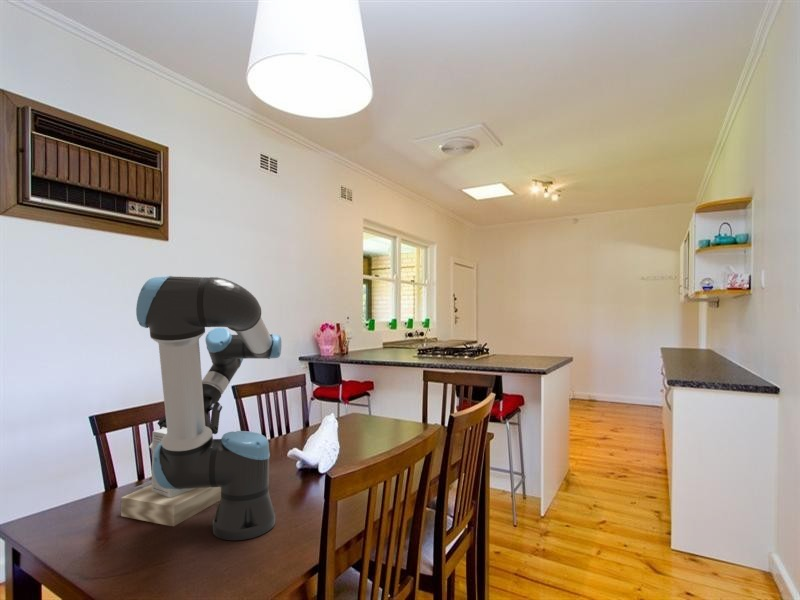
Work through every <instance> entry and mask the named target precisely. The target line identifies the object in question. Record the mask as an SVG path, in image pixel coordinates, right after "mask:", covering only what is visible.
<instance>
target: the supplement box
mask: <svg viewBox="0 0 800 600" xmlns="http://www.w3.org/2000/svg"><path fill="white" fill-rule="evenodd" d="M166 434H167V428H164V429H160V428H159V429H156V430H153V431H152V441H151V443H152V449H151V458H152V459H151V460H152V461H151V480H152V491H153V492H156V493H158V494H161V495H164V496H167V497H170V498H171V497H174V496H176V495H179V494H182V493H185V492H188V491H190V490H193V489H196V488H186V489H181V490H178V489H166V488H163V487H161V486H160V485H159V484H158V483H157V481H156V479H155V476H154V472H153V463H154V453H155V450H156V448H157V446H158V445H159V443H160V442H161V440H162V438H163V437H164V436H165V435H166Z"/></svg>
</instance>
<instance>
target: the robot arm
mask: <svg viewBox="0 0 800 600" xmlns="http://www.w3.org/2000/svg"><path fill="white" fill-rule="evenodd" d="M136 301H137V302H136V307H135V308H136V309H135V311H136V312H135V313H136V320H137V322H138V324H139V326H140V327H142V328H144V329H149V335H150V337H149V338H150V339H152V340H153V341H154V342H156V343H157V344H158V350H159V351H158V352H159V362H160V370H161V371H160V372H161V382H162V384H161V385H162V392H163V401H164V402H163V403H164V412H165V413H164V415H165V416H163V417H162V418H161V419H159V421H158V422H157V425H158V426H159V429H164V428H167V434H166V435H165V436H164V437H163V438H162V440H161V442H160V443H159V445H158V446H157V448H156V450H155V453H154V463H153V472H154V476H155V479H156V481H157V483H158V484H159V485H160V486H161V487H163V488H166V489H178V490H181V489H186V488H208V487H221V500H220V501H219V503H218V506H217V508H216V512H215V514H214V518H213V521H212V534H213V535H214V536H215V537H217V538H218V539H221V540H226V541H244V540H245V541H246V540H249V539H253V538H257V537H259V536H262V535H264V534H266V533H268V532H269V531H271V529H273V527H275V524H276V512H275V509H274V506H273V503H272V500H271V495H270V491H269V489H270V487H269V486H270V484H269V483H270V481H269V479H270V457H271V453H270V443H269V439H268V437H266V436H265V435H263V434H261V433H259V432H254V431H247V430H236V431H228V432H225V433H224V434H223V435H222V436H221V438H214V437H213V436H214V435H217V434H218V433H219V424H220V416H221V415H220V414H221V411H222V409H223V406H222V404H221V403H220V402H219V401H220V400H221V397H222V395H223V394H224V392H225V391H226V389H227V387H228V386H229V384H230V383H231V381H232V380H233V378H234V376H235V374H236V373H237V371H238V369H239V368H240V367H241V364H242V362H243V361H244V360H245V359H247V360H248V359H263V360H264V359H267V360H271V359H279V358H280V356H281V355H282V337H281V336H280V335H279V334H273V333H272V334H270V333H269V330H268V328H267V325H266V324H265V322H264V320H263V318H262V308H261V305H260V302H259V301H258V299H257V298H256V297H255V295H253V294H252V292H250V291H249V290H247V289H246V288H245V287H243V286H241V285H239V284H238V283H236V282H234V281H232V280H229V279H226V278H221V277H217V276H215V277H213V276H210V277H204V276H203V277H202V276H201V277H200V276H173V275H168V276H154V277H151V278H149V279H148V280H147V281H145V283H144V284H143V285H142V287H141V289H140V291H139V294H138V296H137V300H136ZM206 328H213V329H211V330H209V331H208V333H207V334H206V336H205V340H204V341H205V344H206V349H207V352H208V354H209V357H210V360H211V363H212V365H211V366H210V368H209V370H208V371H207V373H206V374H205V375H204V377H202V376H203V375H202V363H201V352H200V351H201V350H200V348H201V347H200V339H201V337H202V336H204V334H205V333H206ZM230 330H231V331H233V332H235V333H236V334H231V332H230ZM202 378H203V379H202ZM210 412H211V415H210ZM148 447H149V449H150V450H152V442H151V443H150V445H149V446H148Z"/></svg>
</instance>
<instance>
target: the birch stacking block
mask: <svg viewBox="0 0 800 600" xmlns="http://www.w3.org/2000/svg"><path fill="white" fill-rule="evenodd" d="M220 500H221V487H208V488H196V489H193V490H190V491H188V492H185V493H182V494H179V495H176V496H174V497H171V498H170V497H167V496H164V495H161V494H158V493H156V492H153V491H152V485H149V486H147V487H145V488H142V489H140V490H138V491H135V492H133V493H131V492H130V493H128V494H125V495H124V496H121V501H120V503H121V505H120V516H121V517H124V518H127V519H128V518H129V519H134V520H138V521H143V522H144V521H145V522H148V523H149V522H150V523H154V524H157V525H158V524H160V525H164V526H169V527H176V526H178V525H179V524H182V522H184V521H186V520H188V519H190V518H192V517H193V516H196V515H197V514H198V513H201V512H202V511H204V510H206V509H207V508H209V507H211V506H212V505H215V504H217V503H218V502H220Z"/></svg>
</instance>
